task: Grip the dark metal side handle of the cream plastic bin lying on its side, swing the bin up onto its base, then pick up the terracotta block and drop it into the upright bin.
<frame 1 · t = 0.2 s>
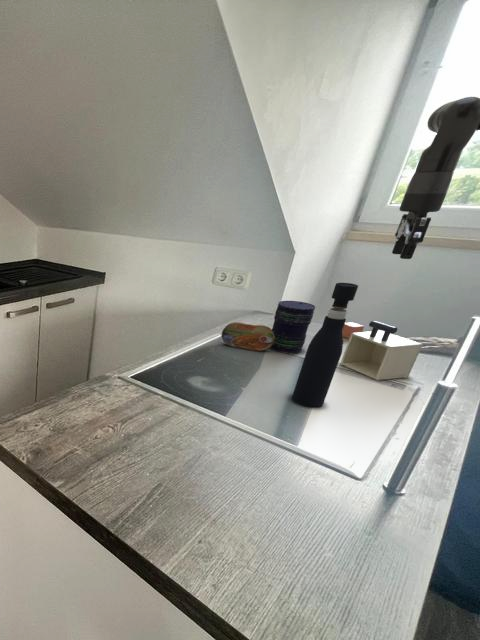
hand: (400, 256, 106), 32 cm above the counter, tool pointing down, fingers open, 8 cm apart
bin: (382, 347, 110), point 7 cm above the counter, hinge at 90.0°
storage jar: (283, 348, 130), on the counter
block: (348, 336, 138), on the counter
tin: (244, 347, 131), on the counter
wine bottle: (306, 402, 98), on the counter
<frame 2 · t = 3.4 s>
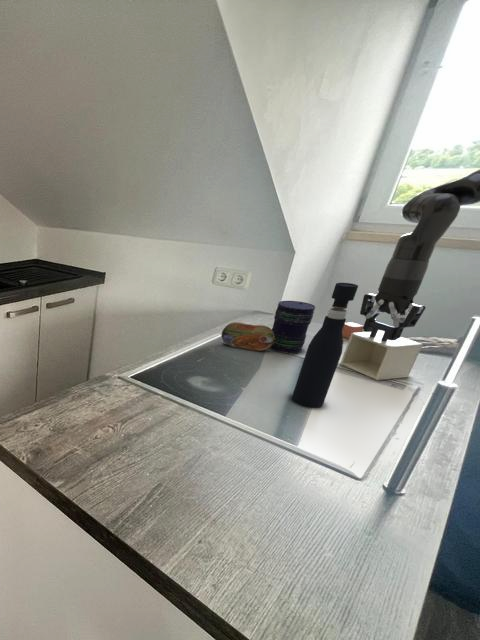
hand: (379, 335, 108), 11 cm above the counter, tool pointing down, fingers closed on bin, 6 cm apart
bin: (382, 347, 110), point 7 cm above the counter, hinge at 90.1°, touching gripper
everything else where it was.
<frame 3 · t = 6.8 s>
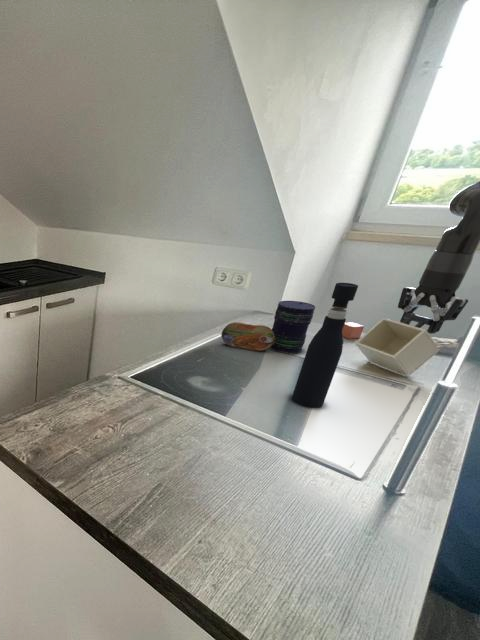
hand: (417, 328, 109), 12 cm above the counter, tool pointing down, fingers closed on bin, 6 cm apart
bin: (402, 340, 110), point 9 cm above the counter, hinge at 49.2°, touching gripper
everything else where it was.
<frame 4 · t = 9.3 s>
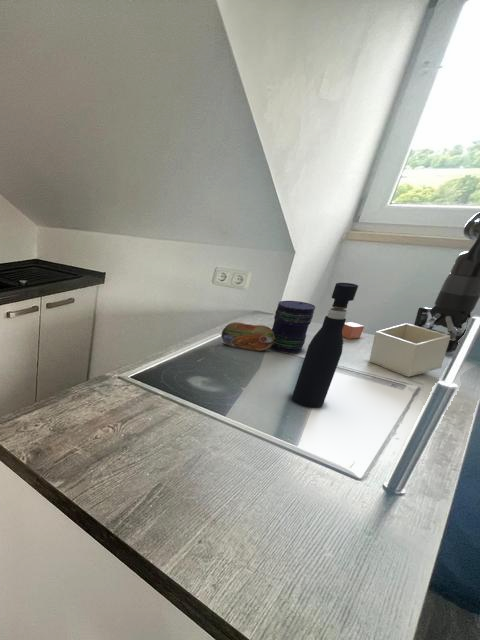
hand: (433, 347, 113), 6 cm above the counter, tool pointing down, fingers closed on bin, 6 cm apart
bin: (414, 347, 112), point 6 cm above the counter, hinge at 11.2°, touching gripper
everything else where it was.
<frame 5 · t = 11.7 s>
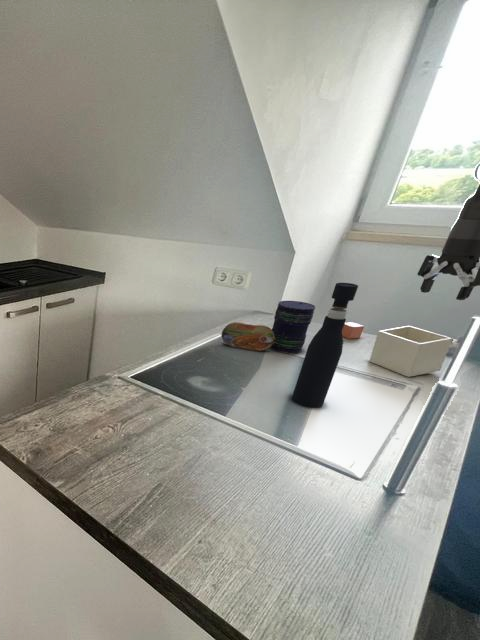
hand: (441, 295, 110), 20 cm above the counter, tool pointing down, fingers open, 8 cm apart
bin: (415, 349, 112), point 6 cm above the counter, hinge at 5.4°
everything else where it was.
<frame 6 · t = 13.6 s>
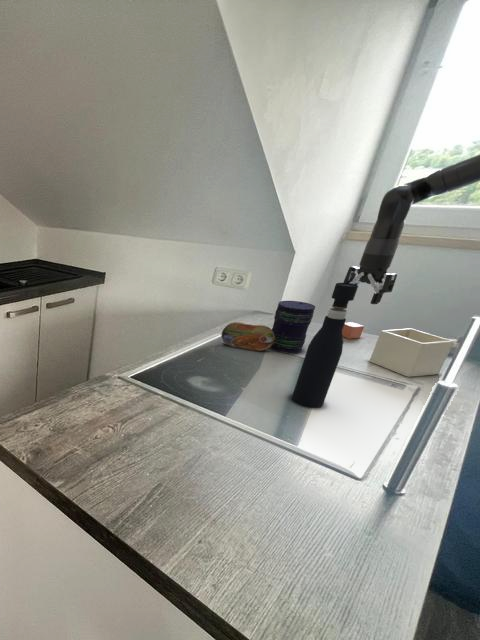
hand: (361, 300, 133), 13 cm above the counter, tool pointing down, fingers open, 8 cm apart
bin: (415, 351, 112), point 5 cm above the counter, hinge at -0.1°
everything else where it was.
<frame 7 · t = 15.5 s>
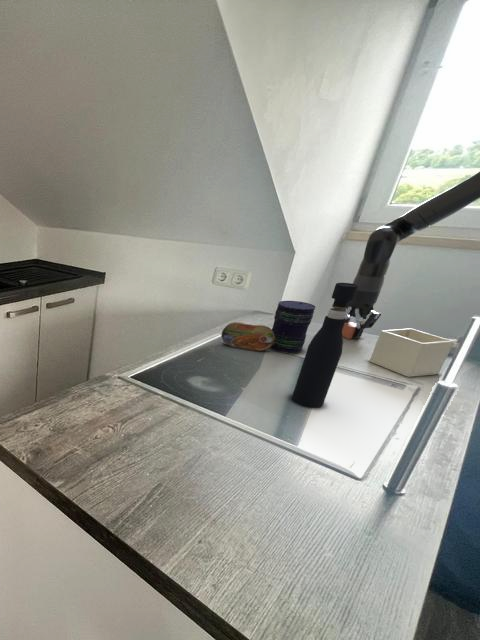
hand: (348, 335, 138), 0 cm above the counter, tool pointing down, fingers closed on block, 4 cm apart
block: (348, 336, 138), on the counter, touching gripper
everything else where it was.
when the fingers open (9 cm above the counter, at t = 22.2 s): block drops 8 cm, resting on bin.
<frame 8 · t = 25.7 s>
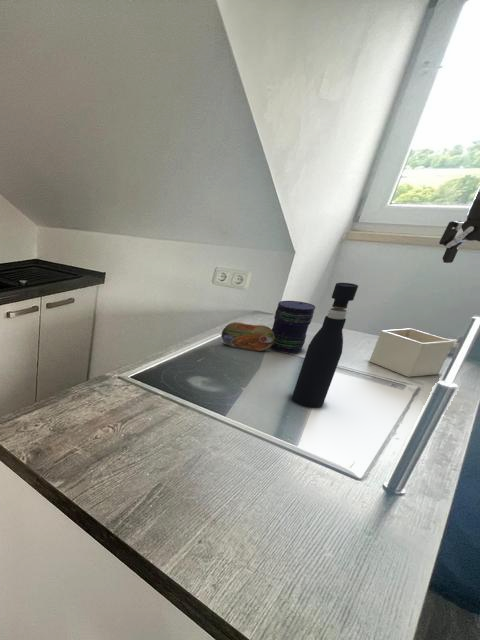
hand: (466, 265, 100), 30 cm above the counter, tool pointing down, fingers open, 8 cm apart
bin: (415, 351, 112), point 5 cm above the counter, hinge at -0.2°, touching block
block: (403, 365, 114), point 1 cm above the counter, touching bin
everything else where it was.
at the end: bin at +0° (first picture: +90°); block inside the target area on the bin (0.0 cm from its centre), point 0.6 cm above the bin's base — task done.
